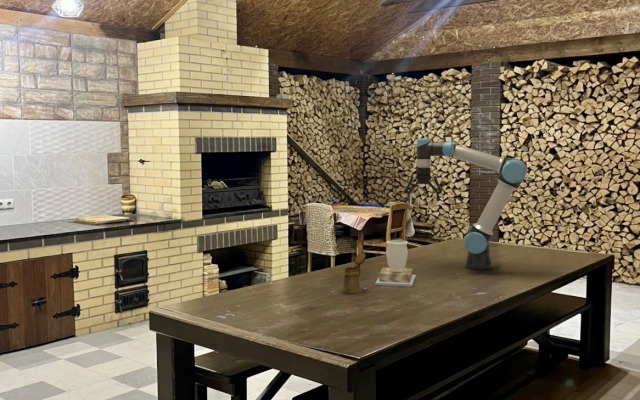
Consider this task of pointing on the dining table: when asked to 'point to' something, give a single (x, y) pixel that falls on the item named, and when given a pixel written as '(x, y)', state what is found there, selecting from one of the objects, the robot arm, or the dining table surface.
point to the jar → (397, 255)
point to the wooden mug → (353, 275)
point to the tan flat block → (395, 275)
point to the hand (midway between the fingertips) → (423, 205)
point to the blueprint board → (396, 283)
